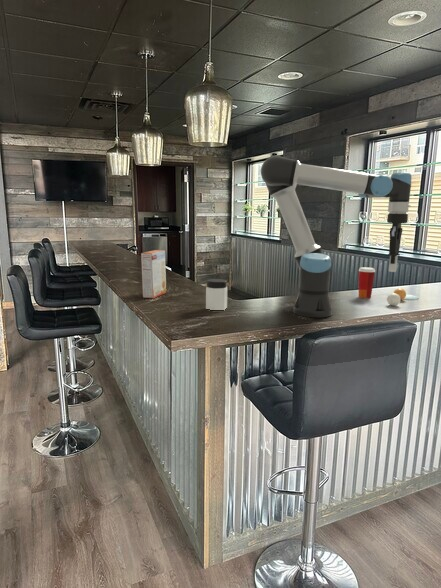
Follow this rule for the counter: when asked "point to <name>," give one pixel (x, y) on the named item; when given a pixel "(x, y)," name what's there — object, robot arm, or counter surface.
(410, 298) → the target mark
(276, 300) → the counter surface
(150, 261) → the cracker box
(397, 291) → the object ball
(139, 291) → the counter surface
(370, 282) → the paper cup
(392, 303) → the cue ball
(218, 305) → the jar
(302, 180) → the robot arm
